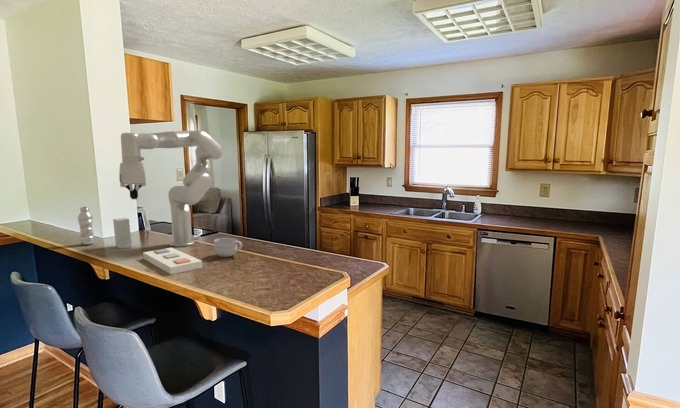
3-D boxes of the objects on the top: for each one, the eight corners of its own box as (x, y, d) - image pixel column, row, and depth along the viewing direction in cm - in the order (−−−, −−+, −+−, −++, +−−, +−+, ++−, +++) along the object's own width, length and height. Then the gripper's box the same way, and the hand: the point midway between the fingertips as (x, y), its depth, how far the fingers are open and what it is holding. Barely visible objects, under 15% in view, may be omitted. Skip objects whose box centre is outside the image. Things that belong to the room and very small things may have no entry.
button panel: (172, 253, 176) (171, 247, 176) (202, 267, 155) (202, 260, 154) (143, 258, 167) (142, 252, 167) (171, 274, 145) (170, 267, 145)
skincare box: (132, 247, 188) (130, 219, 186) (118, 249, 183) (116, 220, 182) (127, 244, 194) (125, 217, 192) (114, 246, 189) (112, 218, 187)
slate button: (165, 252, 172) (165, 248, 171) (169, 254, 168) (169, 250, 168) (154, 254, 168) (154, 250, 168) (158, 256, 165) (158, 252, 164)
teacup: (209, 256, 172) (208, 240, 171) (226, 251, 181) (225, 235, 180) (231, 260, 165) (230, 243, 164) (247, 255, 175) (247, 239, 174)
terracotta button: (185, 262, 157) (185, 257, 156) (190, 264, 153) (190, 260, 153) (173, 264, 153) (173, 260, 153) (178, 267, 150) (178, 262, 149)
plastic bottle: (87, 246, 188) (84, 208, 186) (76, 245, 190) (73, 208, 187) (98, 243, 195) (95, 206, 192) (87, 242, 196) (84, 206, 193)
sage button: (174, 257, 164) (174, 253, 164) (179, 259, 161) (179, 255, 160) (163, 259, 161) (163, 255, 160) (167, 261, 157) (167, 257, 157)
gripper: (146, 159, 176) (148, 197, 178) (110, 159, 165) (113, 199, 167) (151, 160, 170) (153, 198, 173) (115, 160, 160) (118, 201, 162)
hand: (134, 198), depth 170 cm, fingers closed
